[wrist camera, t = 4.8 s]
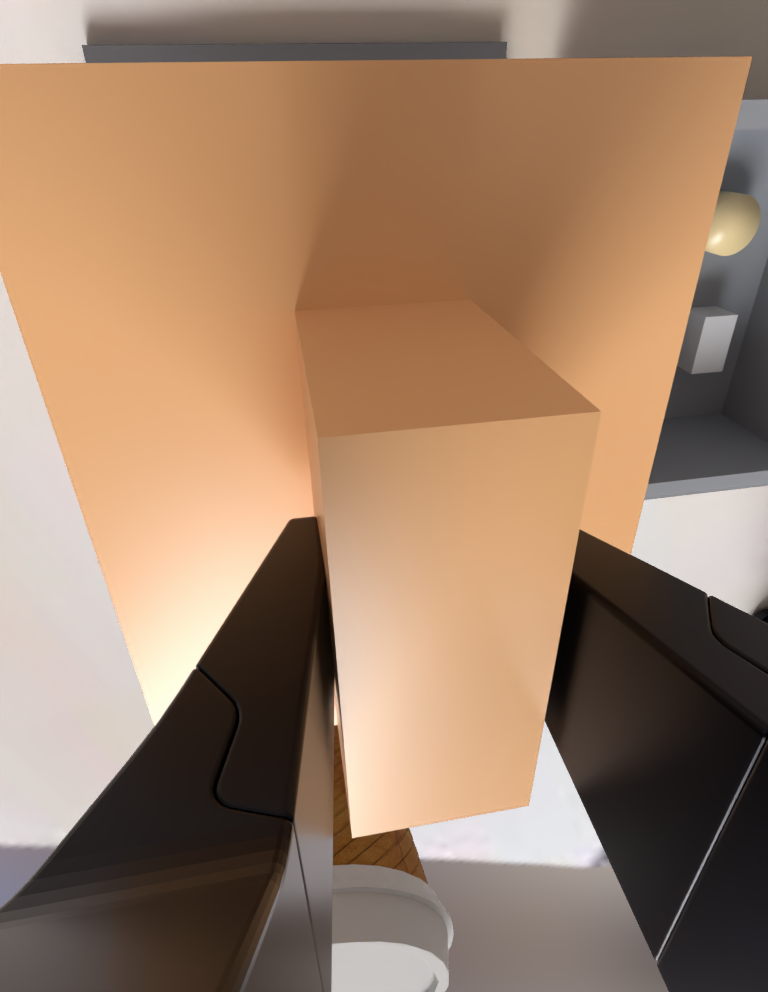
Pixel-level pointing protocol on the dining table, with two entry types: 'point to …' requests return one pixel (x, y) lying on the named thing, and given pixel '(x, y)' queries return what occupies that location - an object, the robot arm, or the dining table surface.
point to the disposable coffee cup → (383, 909)
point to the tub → (725, 338)
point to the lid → (365, 359)
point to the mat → (293, 52)
